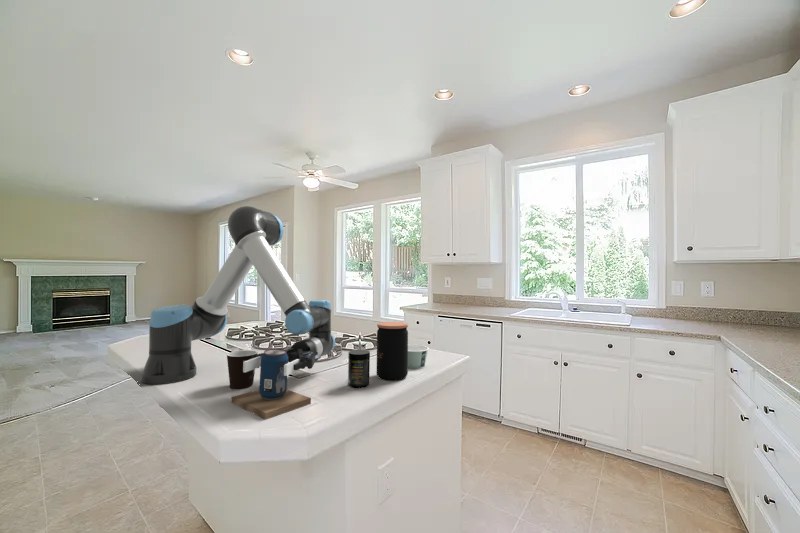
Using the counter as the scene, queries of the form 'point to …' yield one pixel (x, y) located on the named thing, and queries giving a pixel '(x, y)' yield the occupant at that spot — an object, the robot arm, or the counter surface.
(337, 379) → the counter surface
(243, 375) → the coffee mug
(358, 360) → the supplement container
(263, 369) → the soda can
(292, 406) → the walnut board
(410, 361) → the food container
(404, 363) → the coffee jar
